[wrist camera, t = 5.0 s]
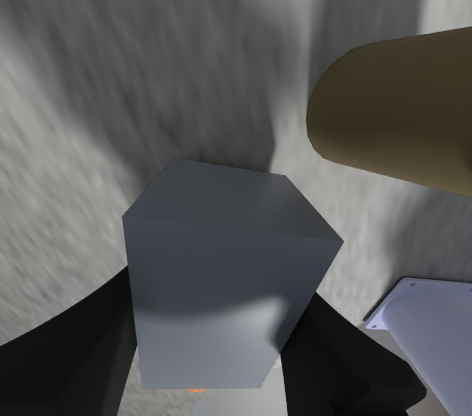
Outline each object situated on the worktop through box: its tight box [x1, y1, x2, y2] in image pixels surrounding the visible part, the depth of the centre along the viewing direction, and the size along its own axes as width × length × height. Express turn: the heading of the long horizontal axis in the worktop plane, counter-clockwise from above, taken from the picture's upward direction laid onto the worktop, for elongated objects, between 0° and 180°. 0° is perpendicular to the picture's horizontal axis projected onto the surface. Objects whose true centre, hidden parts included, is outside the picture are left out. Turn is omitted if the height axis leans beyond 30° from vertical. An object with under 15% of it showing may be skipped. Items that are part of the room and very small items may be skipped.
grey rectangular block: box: [122, 158, 344, 389], centre depth 10 cm, size 6×11×6 cm, turn 170°
